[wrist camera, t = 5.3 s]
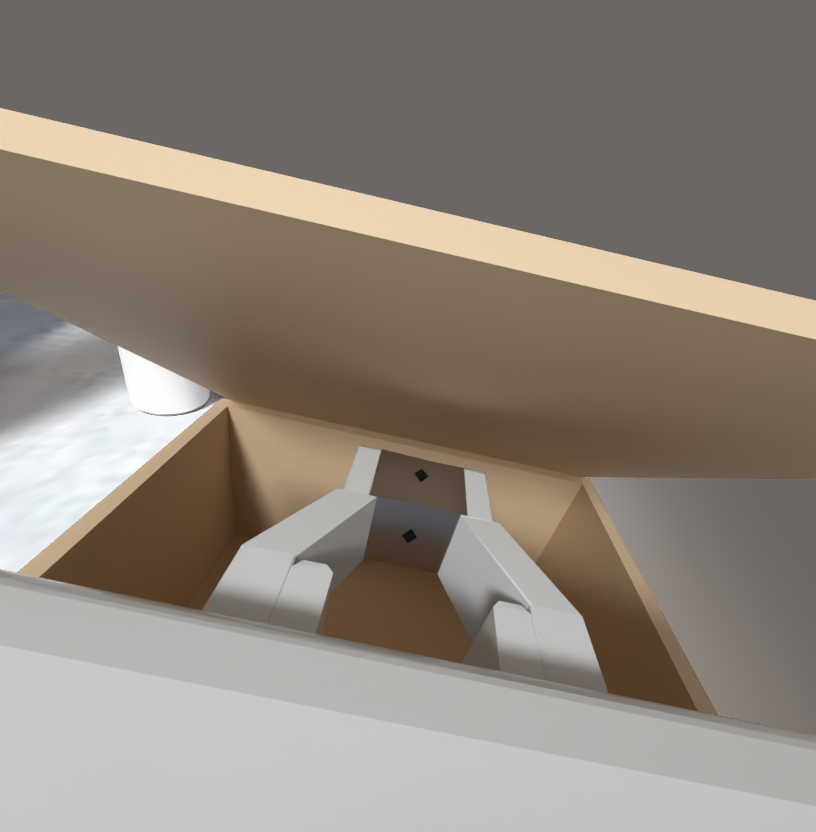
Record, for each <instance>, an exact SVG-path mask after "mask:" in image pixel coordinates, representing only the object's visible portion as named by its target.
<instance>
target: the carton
mask: <svg viewBox="0 0 816 832" xmlns="http://www.w3.org/2000/svg"><path fill="white" fill-rule="evenodd" d="M360 445H366V446H370V447H375V448H379V449H381V451H382V449H383V450H388V451H392V452H396V453H400V454H404V455H408V456H412V457H417V458H421V459H423V460H428V461H433V462H437V463H442V464H447V465H452V466H456V467H461V468H462V467H465V468H470V469H475V470H480V471H483V472H484V473H485V475H486V481H487V487H488V493H489V499H490V505H491V511H492V517H493V522H497V523H500V524H501V525H502V526H503V528H504V529H505V530H506V531H507V532H508V533H509V534H510V535H511V537H512V538H513V539H514V540H515V541H516V542H517V543H518V545H519V546H520V547H521V548H522V549H523V550H524V551H525V552H526V554H527V555H528V556H529V557H530V558H531V559H532V560H533V561H534V563H535V564H536V565H537V566H538V567H539V568H540V569H541V570H542V572H543V573H544V574H545V575H546V576H547V577H548V578H549V579H550V581H551V582H552V583H553V584H554V585H555V586H556V587H557V589H558V590H559V591H560V592H561V593H562V594H563V595H564V596H565V598H566V599H567V600H568V601H569V602H570V603H571V604H572V605H573V607H574V608H575V609H576V610H577V611H578V612H579V613H580V614H581V616H582V617H583V620H584V623H585V626H586V629H587V631H588V634H589V637H590V640H591V643H592V646H593V649H594V652H595V655H596V658H597V661H598V664H599V667H600V670H601V673H602V676H603V678H604V681H605V684H606V687H607V690H608V693H610V694H615V695H620V696H625V697H629V698H634V699H639V700H644V701H649V702H654V703H659V704H664V705H669V706H674V707H679V708H684V709H688V710H693V711H698V712H703V713H708V714H713V715H717V713H716V711H715V709H714V707H713V705H712V703H711V702H710V700H709V698H708V696H707V694H706V693H705V691H704V689H703V687H702V685H701V683H700V681H699V680H698V678H697V676H696V674H695V672H694V670H693V668H692V667H691V665H690V663H689V661H688V659H687V658H686V656H685V654H684V652H683V650H682V648H681V646H680V645H679V643H678V641H677V639H676V637H675V636H674V634H673V632H672V630H671V628H670V626H669V624H668V622H667V621H666V619H665V617H664V615H663V613H662V611H661V610H660V608H659V606H658V604H657V602H656V601H655V598H654V597H653V595H652V593H651V591H650V589H649V587H648V586H647V584H646V582H645V580H644V578H643V576H642V575H641V573H640V571H639V569H638V567H637V565H636V563H635V562H634V560H633V558H632V556H631V554H630V553H629V551H628V549H627V547H626V545H625V543H624V542H623V540H622V538H621V536H620V534H619V532H618V530H617V528H616V527H615V525H614V523H613V521H612V519H611V518H610V516H609V514H608V512H607V510H606V508H605V506H604V505H603V503H602V501H601V499H600V497H599V495H598V494H597V492H596V490H595V488H594V486H593V484H592V482H591V481H590V479H588V478H583V477H579V476H574V475H570V474H565V473H561V472H556V471H551V470H547V469H542V468H538V467H533V466H529V465H524V464H519V463H515V462H510V461H506V460H501V459H497V458H492V457H487V456H483V455H478V454H474V453H469V452H465V451H460V450H455V449H451V448H446V447H442V446H437V445H433V444H428V443H423V442H419V441H414V440H410V439H405V438H401V437H396V436H391V435H387V434H382V433H378V432H373V431H369V430H364V429H359V428H355V427H350V426H346V425H341V424H337V423H332V422H327V421H323V420H318V419H314V418H309V417H304V416H300V415H295V414H291V413H286V412H282V411H277V410H272V409H268V408H263V407H259V406H254V405H250V404H245V403H240V402H236V401H231V400H227V399H221V400H220V401H218V402H217V403H216V404H215V405H214V406H213V407H211V408H210V409H209V410H208V411H207V412H206V413H204V414H203V415H202V416H201V417H200V418H198V419H197V420H196V421H195V422H194V423H193V424H191V425H190V426H189V427H188V428H187V429H186V430H184V431H183V432H182V433H181V434H180V435H178V436H177V437H176V438H175V439H174V440H173V441H171V442H170V443H169V444H168V445H167V446H165V447H164V448H163V449H162V450H161V451H160V452H158V453H157V454H156V455H155V456H154V457H153V458H151V459H150V460H149V461H148V462H147V463H145V464H144V465H143V466H142V467H141V468H140V469H138V470H137V471H136V472H135V473H134V474H133V475H131V476H130V477H129V478H128V479H127V480H125V481H124V482H123V483H122V484H121V485H120V486H118V487H117V488H116V489H115V490H114V491H113V492H111V493H110V494H109V495H108V496H107V497H105V498H104V499H103V500H102V501H101V502H100V503H98V504H97V505H96V506H95V507H94V508H93V509H91V510H90V511H89V512H88V513H87V514H85V515H84V516H83V517H82V518H81V519H80V520H78V521H77V522H76V523H75V524H74V525H72V526H71V527H70V528H69V529H68V530H67V531H65V532H64V533H63V534H62V535H61V536H60V537H58V538H57V539H56V540H55V541H54V542H52V543H51V544H50V545H49V546H48V547H47V548H45V549H44V550H43V551H42V552H41V553H40V554H38V555H37V556H36V557H35V558H34V559H32V560H31V561H30V562H29V563H28V564H27V565H25V566H24V567H23V568H22V569H21V570H20V571H18V572H17V573H20V574H25V575H30V576H35V577H40V578H45V579H50V580H54V581H59V582H64V583H69V584H74V585H79V586H84V587H89V588H94V589H99V590H104V591H108V592H113V593H118V594H123V595H128V596H133V597H138V598H143V599H148V600H153V601H157V602H162V603H167V604H172V605H177V606H182V607H187V608H192V609H197V610H203V608H204V606H205V605H206V603H207V601H208V600H209V598H210V596H211V595H212V593H213V592H214V590H215V588H216V587H217V585H218V583H219V582H220V580H221V578H222V577H223V575H224V574H225V572H226V570H227V569H228V567H229V565H230V564H231V562H232V560H233V559H234V557H235V555H236V554H237V552H238V551H239V549H240V547H241V546H242V544H244V543H246V542H247V541H249V540H251V539H252V538H254V537H256V536H257V535H259V534H261V533H262V532H264V531H266V530H268V529H269V528H271V527H273V526H274V525H276V524H278V523H279V522H281V521H283V520H284V519H286V518H288V517H289V516H291V515H293V514H294V513H296V512H298V511H299V510H301V509H303V508H305V507H306V506H308V505H310V504H311V503H313V502H315V501H316V500H318V499H320V498H321V497H323V496H325V495H326V494H328V493H330V492H331V491H333V490H335V489H337V488H339V489H344V487H345V484H346V481H347V478H348V476H349V473H350V470H351V467H352V465H353V462H354V459H355V456H356V453H357V451H358V448H359V446H360ZM323 635H324V636H329V637H334V638H339V639H344V640H349V641H354V642H359V643H364V644H368V645H373V646H378V647H383V648H388V649H393V650H398V651H403V652H408V653H413V654H417V655H422V656H427V657H432V658H437V659H442V660H447V661H452V662H457V663H462V661H463V659H464V657H465V655H466V654H467V652H468V650H469V648H470V647H471V645H472V642H471V640H470V638H469V636H468V634H467V632H466V630H465V628H464V626H463V624H462V622H461V620H460V618H459V616H458V614H457V612H456V610H455V608H454V606H453V604H452V602H451V600H450V598H449V596H448V594H447V592H446V590H445V588H444V586H443V584H442V582H441V580H440V578H439V576H438V572H433V571H429V570H425V569H421V568H417V567H412V566H408V565H404V564H400V563H394V562H389V561H383V560H378V559H372V558H367V557H364V559H363V560H362V561H361V562H360V563H359V564H358V565H357V566H356V567H355V568H354V569H353V570H352V571H351V572H350V573H349V574H348V575H347V576H346V577H345V578H344V579H343V580H342V581H341V582H340V583H339V584H338V585H337V586H336V587H335V588H334V589H333V590H332V591H331V592H330V596H329V603H328V609H327V615H326V622H325V628H324V634H323Z"/></svg>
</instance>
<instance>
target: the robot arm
mask: <svg viewBox="0 0 816 832" xmlns="http://www.w3.org/2000/svg"><path fill="white" fill-rule="evenodd" d="M364 557H367V558H372V559H378V560H383V561H389V562H394V563H400V564H404V565H408V566H412V567H417V568H421V569H425V570H429V571H433V572H438V576H439V578H440V580H441V582H442V584H443V586H444V588H445V590H446V592H447V594H448V596H449V598H450V600H451V602H452V604H453V606H454V608H455V610H456V612H457V614H458V616H459V618H460V620H461V622H462V624H463V626H464V628H465V630H466V632H467V634H468V636H469V638H470V640H471V642H472V645H471V647H470V648H469V650H468V652H467V654H466V655H465V657H464V659H463V661H462V663H457V662H452V661H447V660H442V659H437V658H432V657H427V656H422V655H417V654H413V653H408V652H403V651H398V650H393V649H388V648H383V647H378V646H373V645H368V644H364V643H359V642H354V641H349V640H344V639H339V638H334V637H329V636H324V635H323V634H324V628H325V622H326V615H327V609H328V603H329V596H330V592H331V591H332V590H333V589H334V588H335V587H336V586H337V585H338V584H339V583H340V582H341V581H342V580H343V579H344V578H345V577H346V576H347V575H348V574H349V573H350V572H351V571H352V570H353V569H354V568H355V567H356V566H357V565H358V564H359V563H360V562H361V561H362V560H363V559H364ZM0 832H816V735H811V734H806V733H801V732H796V731H791V730H786V729H781V728H776V727H771V726H767V725H762V724H757V723H752V722H747V721H742V720H737V719H733V718H728V717H723V716H718V715H713V714H708V713H703V712H698V711H693V710H688V709H684V708H679V707H674V706H669V705H664V704H659V703H654V702H649V701H644V700H639V699H634V698H629V697H625V696H620V695H615V694H610V693H608V690H607V687H606V684H605V681H604V678H603V676H602V673H601V670H600V667H599V664H598V661H597V658H596V655H595V652H594V649H593V646H592V643H591V640H590V637H589V634H588V631H587V629H586V626H585V623H584V620H583V617H582V616H581V614H580V613H579V612H578V611H577V610H576V609H575V608H574V607H573V605H572V604H571V603H570V602H569V601H568V600H567V599H566V598H565V596H564V595H563V594H562V593H561V592H560V591H559V590H558V589H557V587H556V586H555V585H554V584H553V583H552V582H551V581H550V579H549V578H548V577H547V576H546V575H545V574H544V573H543V572H542V570H541V569H540V568H539V567H538V566H537V565H536V564H535V563H534V561H533V560H532V559H531V558H530V557H529V556H528V555H527V554H526V552H525V551H524V550H523V549H522V548H521V547H520V546H519V545H518V543H517V542H516V541H515V540H514V539H513V538H512V537H511V535H510V534H509V533H508V532H507V531H506V530H505V529H504V528H503V526H502V525H501V524H500V523H497V522H493V517H492V511H491V505H490V499H489V493H488V487H487V481H486V475H485V473H484V472H483V471H480V470H475V469H470V468H465V467H462V468H461V467H456V466H452V465H447V464H442V463H437V462H433V461H428V460H423V459H421V458H417V457H412V456H408V455H404V454H400V453H396V452H392V451H388V450H383V449H382V451H381V449H379V448H375V447H370V446H366V445H360V446H359V448H358V451H357V453H356V456H355V459H354V462H353V465H352V467H351V470H350V473H349V476H348V478H347V481H346V484H345V487H344V489H339V488H337V489H335V490H333V491H331V492H330V493H328V494H326V495H325V496H323V497H321V498H320V499H318V500H316V501H315V502H313V503H311V504H310V505H308V506H306V507H305V508H303V509H301V510H299V511H298V512H296V513H294V514H293V515H291V516H289V517H288V518H286V519H284V520H283V521H281V522H279V523H278V524H276V525H274V526H273V527H271V528H269V529H268V530H266V531H264V532H262V533H261V534H259V535H257V536H256V537H254V538H252V539H251V540H249V541H247V542H246V543H244V544H242V546H241V547H240V549H239V551H238V552H237V554H236V555H235V557H234V559H233V560H232V562H231V564H230V565H229V567H228V569H227V570H226V572H225V574H224V575H223V577H222V578H221V580H220V582H219V583H218V585H217V587H216V588H215V590H214V592H213V593H212V595H211V596H210V598H209V600H208V601H207V603H206V605H205V606H204V608H203V610H197V609H192V608H187V607H182V606H177V605H172V604H167V603H162V602H157V601H153V600H148V599H143V598H138V597H133V596H128V595H123V594H118V593H113V592H108V591H104V590H99V589H94V588H89V587H84V586H79V585H74V584H69V583H64V582H59V581H54V580H50V579H45V578H40V577H35V576H30V575H25V574H20V573H15V572H10V571H5V570H0Z"/></svg>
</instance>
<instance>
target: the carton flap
mask: <svg viewBox="0 0 816 832" xmlns="http://www.w3.org/2000/svg"><path fill="white" fill-rule="evenodd" d="M0 289H1V290H3V291H5V292H7V293H9V294H11V295H13V296H15V297H17V298H20V299H22V300H24V301H26V302H28V303H30V304H32V305H34V306H36V307H38V308H40V309H42V310H44V311H47V312H49V313H51V314H53V315H55V316H57V317H59V318H61V319H63V320H65V321H67V322H69V323H71V324H74V325H76V326H78V327H80V328H82V329H84V330H86V331H88V332H90V333H92V334H94V335H96V336H98V337H101V338H103V339H105V340H107V341H109V342H111V343H113V344H115V345H117V346H119V347H121V348H123V349H125V350H128V351H130V352H132V353H134V354H136V355H138V356H140V357H142V358H144V359H146V360H148V361H150V362H152V363H155V364H157V365H159V366H161V367H163V368H165V369H167V370H169V371H171V372H173V373H175V374H177V375H180V376H182V377H184V378H186V379H188V380H190V381H192V382H194V383H196V384H198V385H200V386H202V387H204V388H207V389H209V390H211V391H213V392H215V393H217V394H219V395H221V396H223V397H225V398H227V399H229V400H231V401H236V402H240V403H245V404H250V405H254V406H259V407H263V408H268V409H272V410H277V411H282V412H286V413H291V414H295V415H300V416H304V417H309V418H314V419H318V420H323V421H327V422H332V423H337V424H341V425H346V426H350V427H355V428H359V429H364V430H369V431H373V432H378V433H382V434H387V435H391V436H396V437H401V438H405V439H410V440H414V441H419V442H423V443H428V444H433V445H437V446H442V447H446V448H451V449H455V450H460V451H465V452H469V453H474V454H478V455H483V456H487V457H492V458H497V459H501V460H506V461H510V462H515V463H519V464H524V465H529V466H533V467H538V468H542V469H547V470H551V471H556V472H561V473H565V474H570V475H574V476H579V477H634V478H636V477H638V478H721V479H722V478H723V479H725V478H727V479H808V480H809V479H811V480H816V301H815V300H810V299H806V298H802V297H797V296H793V295H789V294H785V293H780V292H776V291H772V290H768V289H763V288H760V287H755V286H751V285H746V284H742V283H738V282H734V281H730V280H726V279H722V278H717V277H712V276H709V275H704V274H700V273H696V272H692V271H688V270H683V269H679V268H674V267H670V266H666V265H662V264H658V263H654V262H650V261H645V260H641V259H637V258H632V257H628V256H624V255H620V254H616V253H611V252H607V251H603V250H599V249H594V248H590V247H586V246H582V245H577V244H573V243H569V242H565V241H561V240H556V239H552V238H548V237H544V236H539V235H535V234H531V233H526V232H523V231H518V230H514V229H510V228H506V227H501V226H497V225H493V224H489V223H484V222H480V221H476V220H471V219H468V218H463V217H459V216H454V215H451V214H446V213H442V212H438V211H434V210H429V209H425V208H421V207H417V206H413V205H408V204H404V203H400V202H395V201H391V200H387V199H383V198H378V197H374V196H370V195H366V194H362V193H357V192H353V191H349V190H345V189H340V188H336V187H332V186H327V185H323V184H319V183H315V182H311V181H307V180H302V179H298V178H294V177H290V176H285V175H281V174H277V173H273V172H269V171H264V170H260V169H256V168H251V167H247V166H243V165H239V164H235V163H230V162H226V161H222V160H218V159H213V158H209V157H205V156H201V155H196V154H192V153H188V152H183V151H180V150H175V149H171V148H167V147H162V146H158V145H154V144H150V143H145V142H141V141H137V140H133V139H129V138H124V137H120V136H116V135H112V134H108V133H103V132H99V131H94V130H91V129H86V128H82V127H78V126H74V125H69V124H65V123H61V122H56V121H53V120H48V119H44V118H40V117H36V116H32V115H27V114H23V113H19V112H15V111H10V110H6V109H2V108H0Z"/></svg>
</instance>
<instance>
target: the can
mask: <svg viewBox="0 0 816 832" xmlns="http://www.w3.org/2000/svg"><path fill="white" fill-rule="evenodd" d="M118 350H119V355H120V359H121V364H122V368H123V373H124V377H125V382H126V386H127V390H128V394H129V398H130V402H131V404H132V405H133V406H134V407H136V408H137V409H139V410H140V411H142V412H144V413H147V414H151V415H157V416H174V415H181V414H186V413H189V412H192V411H195V410H197V409H199V408H200V407H202V406H203V405H204V404H205V403H206V402H207V400H208V399H209V396H210V391H209V389H207V388H204V387H202V386H200V385H198V384H196V383H194V382H192V381H190V380H188V379H186V378H184V377H182V376H180V375H177V374H175V373H173V372H171V371H169V370H167V369H165V368H163V367H161V366H159V365H157V364H155V363H152V362H150V361H148V360H146V359H144V358H142V357H140V356H138V355H136V354H134V353H132V352H130V351H128V350H125V349H123V348H121V347H119V346H118Z"/></svg>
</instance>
